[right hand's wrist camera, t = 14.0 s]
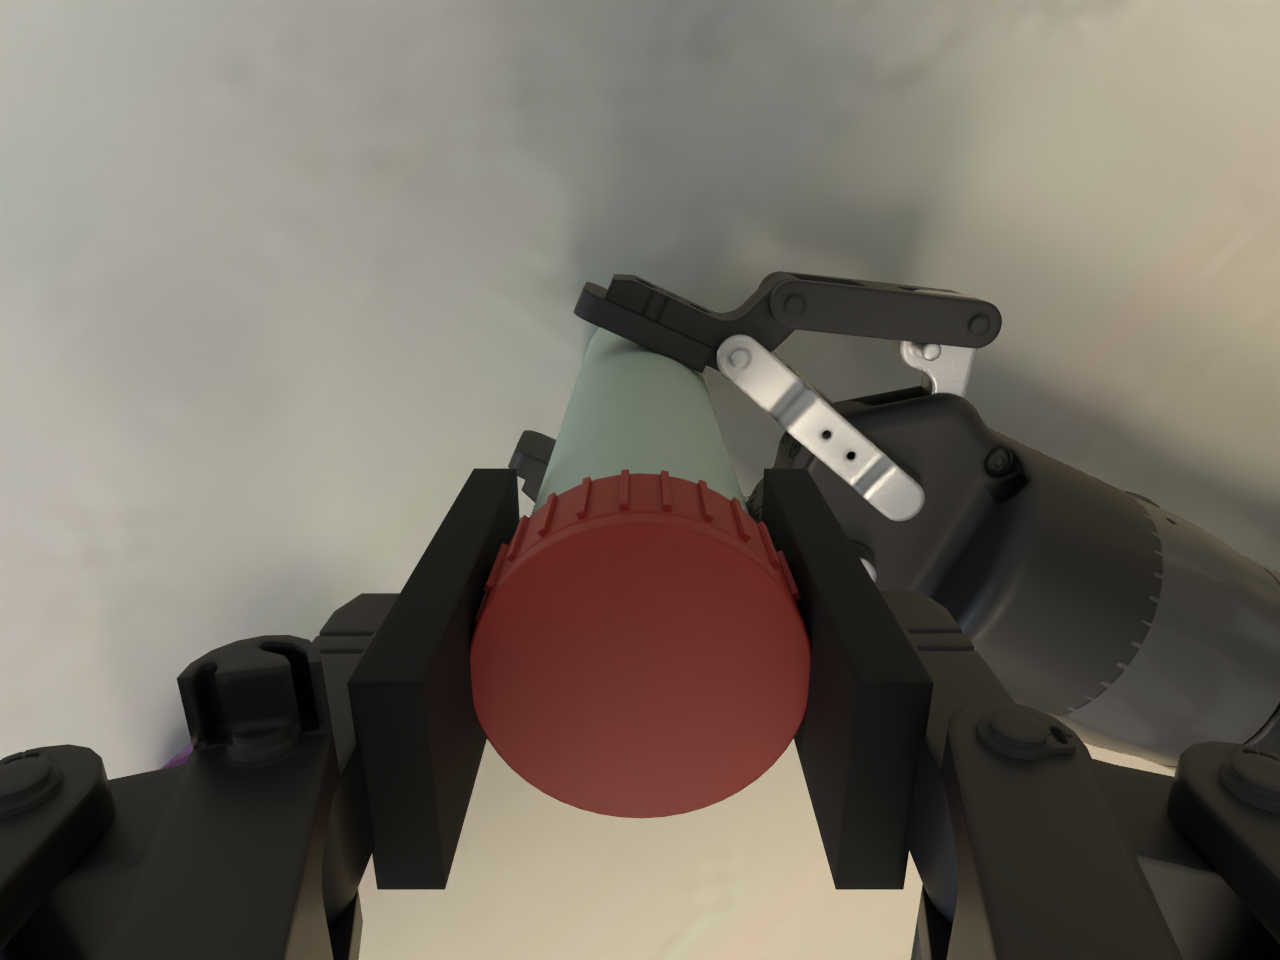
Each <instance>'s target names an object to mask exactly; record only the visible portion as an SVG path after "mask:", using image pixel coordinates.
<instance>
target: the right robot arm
mask: <svg viewBox="0 0 1280 960" xmlns="http://www.w3.org/2000/svg"><path fill="white" fill-rule="evenodd" d="M519 521H520V520H519V502H518V484H517V469H474V470H473V471H472V473H471V475H470V476H469V478H468V480H467V481H466V483H465V485H464V487H463V488H462V490H461V492H460V493H459V495H458V497H457V498H456V500H455V502H454V503H453V505H452V507H451V508H450V510H449V512H448V514H447V515H446V517H445V519H444V520H443V522H442V524H441V525H440V527H439V529H438V530H437V532H436V534H435V535H434V537H433V539H432V541H431V542H430V544H429V546H428V547H427V549H426V551H425V552H424V554H423V556H422V557H421V559H420V561H419V562H418V564H417V566H416V568H415V569H414V571H413V573H412V574H411V576H410V578H409V579H408V581H407V583H406V584H405V586H404V588H403V589H402V591H401V593H400V594H360V595H359V596H357V597H356V598H354V599H353V600H351V601H350V602H348V603H347V604H345V605H344V606H342V607H341V608H339V609H337V610H336V611H334V613H333V614H332V616H331V617H330V618H329V620H328V621H327V623H326V624H325V625H324V627H323V628H322V629H321V631H320V635H319V636H316V638H315V639H314V641H313V642H311V641H309V640H307V639H303V638H299V637H294V636H290V635H269V636H260V637H255V638H250V639H244V640H239V641H236V642H233V643H231V644H228V645H225V646H222V647H220V648H217V649H214V650H212V651H210V652H208V653H207V654H205V655H204V656H202V657H200V658H199V659H197V660H195V661H194V662H192V663H191V664H190V665H189V666H188V667H187V668H186V669H185V670H184V671H183V672H182V673H181V674H180V676H179V677H178V678H177V681H178V686H179V690H180V694H181V698H182V703H183V707H184V711H185V716H186V720H187V724H188V729H189V733H190V737H191V741H192V746H193V751H192V753H191V755H190V757H189V759H188V762H187V763H184V764H180V765H177V766H173V767H169V768H165V769H160V770H155V771H151V772H146V773H141V774H136V775H131V776H126V777H122V778H117V779H112V780H108V779H107V775H106V772H105V768H104V765H103V761H102V758H101V757H100V756H99V755H98V754H96V753H95V752H94V751H93V750H92V749H90V748H87V747H81V746H75V745H59V746H49V747H40V748H35V749H31V750H26V752H23V753H22V752H19V753H16V754H13V755H10V756H7V757H5V758H3V759H2V760H0V960H358V958H359V950H360V941H361V932H362V924H363V920H362V913H361V905H360V899H359V893H358V886H359V884H360V881H361V879H362V876H363V874H364V871H365V869H366V866H367V864H368V861H369V859H370V856H371V854H372V855H373V862H374V868H375V875H376V882H377V889H445V887H446V884H447V880H448V876H449V873H450V869H451V866H452V862H453V858H454V855H455V851H456V848H457V844H458V840H459V837H460V833H461V830H462V826H463V823H464V819H465V815H466V812H467V808H468V805H469V801H470V797H471V794H472V790H473V787H474V783H475V779H476V776H477V772H478V769H479V765H480V761H481V758H482V754H483V751H484V747H485V743H486V740H487V737H486V735H485V733H484V731H483V729H482V727H481V725H480V723H479V721H478V718H477V715H476V712H475V709H474V702H473V691H472V679H471V667H470V643H471V639H472V636H473V633H474V629H475V626H476V624H475V618H476V616H477V613H478V610H479V608H480V605H481V602H482V600H483V597H484V595H485V592H486V591H484V587H485V585H486V582H487V579H488V577H489V574H490V572H491V569H492V567H493V564H494V562H495V559H496V556H497V554H498V551H499V549H500V547H501V545H502V543H504V544H506V545H508V544H509V542H510V541H511V539H512V538H513V536H514V535H515V532H516V530H517V527H518V524H519ZM761 521H762V522H763V523H764V524H765V525H766V527H767V530H768V532H769V535H770V538H771V540H772V543H773V546H774V548H775V550H776V552H779V551H781V550H782V551H783V553H784V555H785V558H786V560H787V563H788V565H789V568H790V571H791V573H792V576H793V578H794V581H795V583H796V586H797V588H798V591H799V593H800V596H801V598H800V599H798V600H796V602H797V605H798V608H799V610H800V613H801V615H802V618H803V621H804V624H805V627H806V630H807V633H808V636H809V639H810V645H811V665H810V677H809V689H808V700H807V709H806V712H805V715H804V718H803V720H802V722H801V724H800V726H799V729H798V731H797V733H796V735H795V736H794V741H795V744H796V748H797V751H798V755H799V759H800V762H801V766H802V769H803V773H804V777H805V780H806V784H807V787H808V791H809V794H810V798H811V802H812V805H813V809H814V812H815V816H816V820H817V823H818V827H819V830H820V834H821V838H822V841H823V845H824V848H825V852H826V856H827V859H828V863H829V866H830V870H831V873H832V877H833V881H834V884H835V888H836V889H903V887H904V881H905V874H906V867H907V860H908V854H909V850H910V853H911V855H912V858H913V860H914V863H915V865H916V868H917V870H918V872H919V875H920V877H921V880H922V882H923V886H922V893H921V899H920V905H919V912H918V918H917V924H916V930H915V937H914V943H913V949H912V956H911V960H1280V755H1278V754H1276V753H1274V752H1271V751H1268V750H1265V749H1262V748H1261V749H1258V748H1257V747H1254V746H1249V745H1245V744H1237V743H1228V742H1218V741H1211V742H1205V743H1199V744H1193V745H1191V746H1190V747H1189V748H1188V749H1186V750H1185V751H1184V752H1183V753H1181V754H1180V758H1179V761H1178V765H1177V769H1176V772H1175V776H1174V777H1171V776H1167V775H1162V774H1157V773H1152V772H1147V771H1142V770H1137V769H1133V768H1128V767H1123V766H1118V765H1113V764H1110V763H1106V762H1102V761H1099V760H1095V759H1092V758H1091V756H1090V754H1089V751H1088V749H1087V747H1086V746H1085V745H1084V743H1083V742H1082V741H1081V740H1080V738H1079V737H1078V736H1077V734H1076V733H1075V732H1074V731H1073V730H1072V729H1070V728H1069V727H1067V726H1066V725H1065V724H1063V723H1062V722H1060V721H1059V720H1058V719H1056V718H1055V717H1053V716H1050V715H1048V714H1046V713H1044V712H1041V711H1039V710H1037V709H1034V708H1032V707H1030V706H1026V705H1021V704H1017V703H1015V702H1014V700H1013V699H1012V698H1011V696H1010V695H1009V694H1008V692H1007V691H1006V689H1005V688H1004V687H1003V685H1002V684H1001V683H1000V681H999V680H998V679H997V677H996V676H995V674H994V673H993V672H992V670H991V669H990V668H989V666H988V665H987V663H986V662H985V661H984V659H983V658H982V657H981V655H980V654H979V652H978V651H975V650H974V646H973V644H972V643H971V641H970V640H969V639H968V637H967V636H966V635H965V634H962V629H961V628H960V626H959V625H958V624H957V622H956V621H955V620H954V618H953V617H952V615H951V614H950V613H949V611H948V610H947V609H946V608H945V607H943V606H942V605H940V604H939V603H937V602H936V601H934V600H932V599H931V598H929V597H928V596H926V595H925V594H923V593H922V592H920V591H879V590H878V588H877V586H876V585H875V583H874V581H873V580H872V578H871V576H870V575H869V573H868V571H867V569H866V568H865V566H864V564H863V563H862V561H861V559H860V558H859V556H858V554H857V553H856V551H855V549H854V548H853V546H852V544H851V542H850V541H849V539H848V537H847V536H846V534H845V532H844V531H843V529H842V527H841V526H840V524H839V522H838V521H837V519H836V517H835V516H834V514H833V512H832V510H831V509H830V507H829V505H828V504H827V502H826V500H825V499H824V497H823V495H822V494H821V492H820V490H819V489H818V487H817V485H816V483H815V482H814V480H813V478H812V477H811V475H810V473H809V472H808V470H807V469H764V481H763V499H762V516H761Z"/></svg>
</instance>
